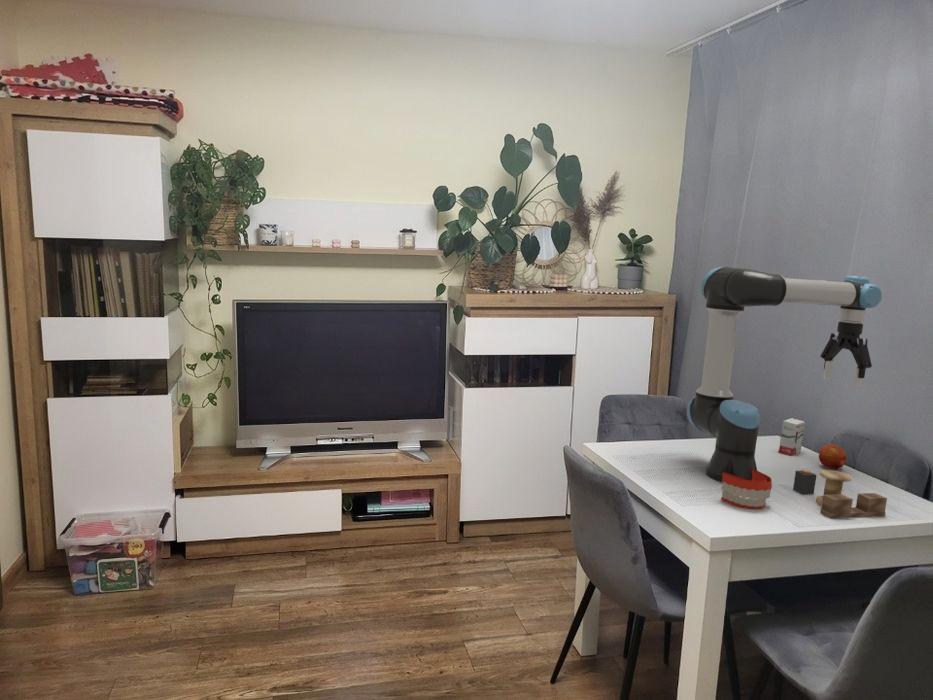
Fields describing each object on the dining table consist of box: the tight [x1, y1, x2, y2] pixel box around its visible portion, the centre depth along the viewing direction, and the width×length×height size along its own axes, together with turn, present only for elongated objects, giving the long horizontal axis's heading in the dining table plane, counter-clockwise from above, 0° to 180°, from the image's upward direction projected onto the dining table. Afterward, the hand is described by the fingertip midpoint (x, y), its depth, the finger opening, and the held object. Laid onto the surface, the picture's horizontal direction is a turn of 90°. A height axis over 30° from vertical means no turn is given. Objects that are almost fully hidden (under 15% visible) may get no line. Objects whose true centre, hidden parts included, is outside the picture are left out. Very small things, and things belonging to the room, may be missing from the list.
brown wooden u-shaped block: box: [819, 492, 888, 519], centre depth 196 cm, size 18×4×5 cm, turn 105°
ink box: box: [778, 417, 806, 457], centre depth 256 cm, size 8×5×12 cm, turn 134°
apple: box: [818, 443, 847, 470], centre depth 240 cm, size 8×8×8 cm
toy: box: [720, 470, 773, 510], centre depth 198 cm, size 12×10×8 cm
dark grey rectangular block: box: [792, 468, 817, 495], centre depth 213 cm, size 4×4×7 cm
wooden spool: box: [815, 469, 852, 506], centre depth 203 cm, size 8×8×9 cm
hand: (841, 383), depth 244 cm, fingers open, 13 cm apart
